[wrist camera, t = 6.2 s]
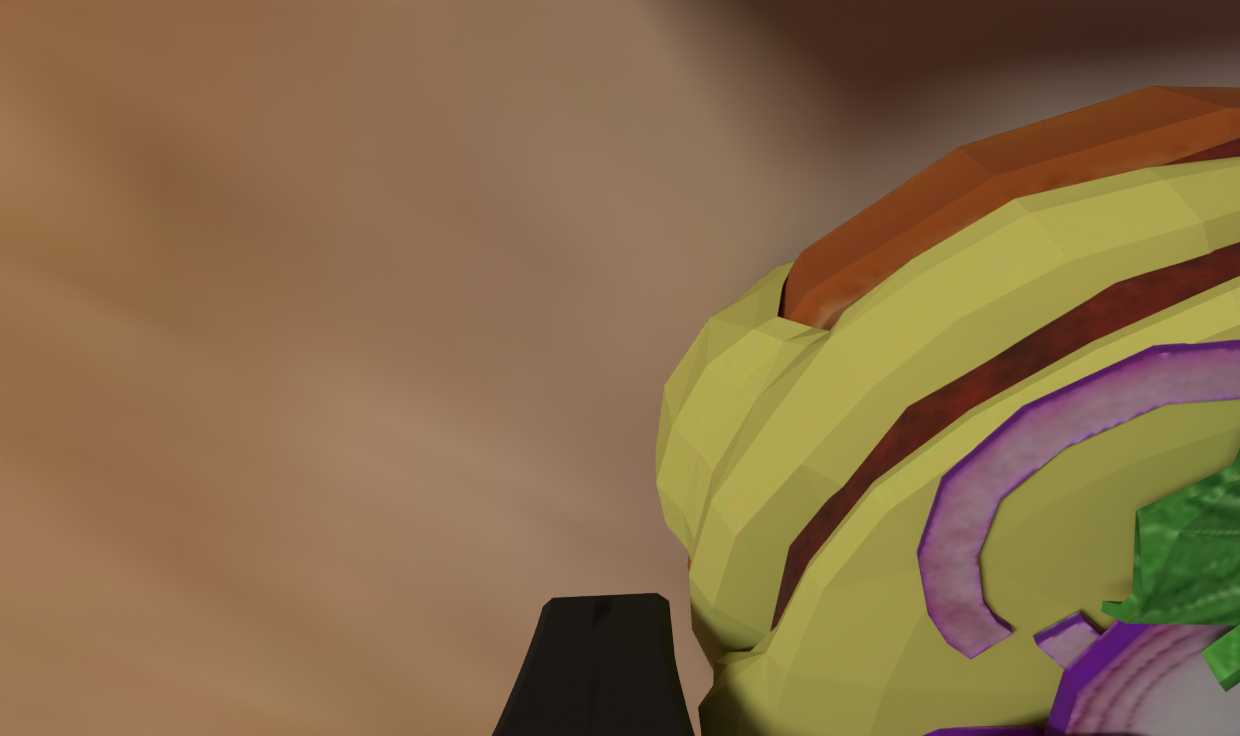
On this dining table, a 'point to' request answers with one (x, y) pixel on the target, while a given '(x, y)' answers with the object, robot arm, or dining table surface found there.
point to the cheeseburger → (982, 447)
